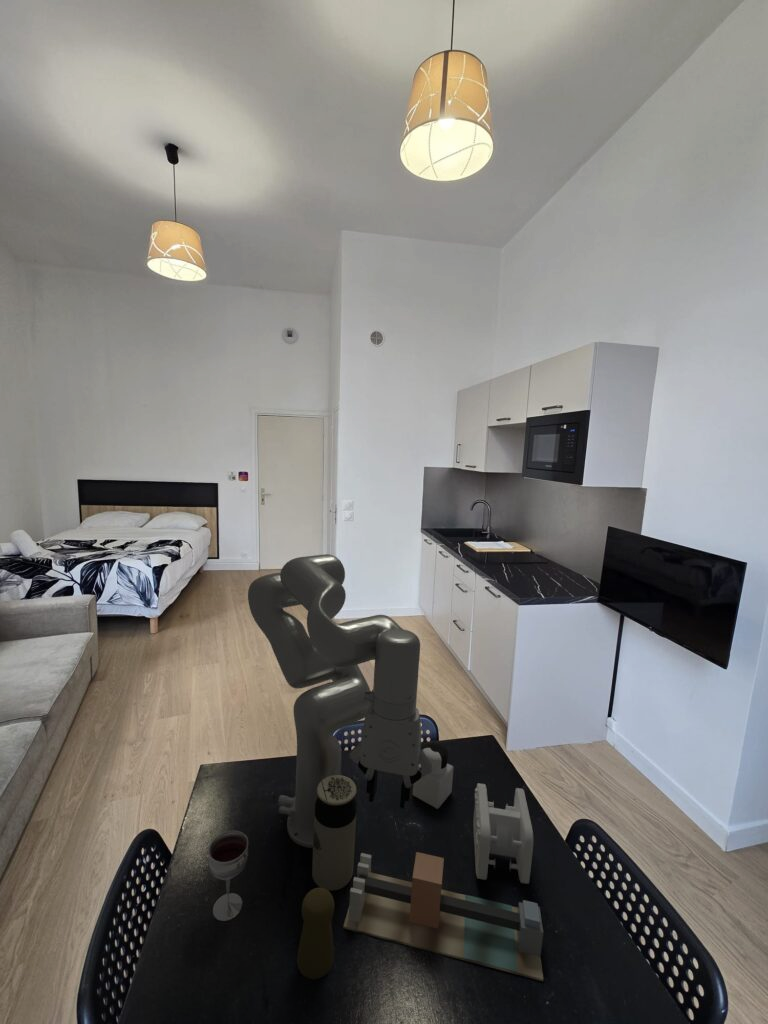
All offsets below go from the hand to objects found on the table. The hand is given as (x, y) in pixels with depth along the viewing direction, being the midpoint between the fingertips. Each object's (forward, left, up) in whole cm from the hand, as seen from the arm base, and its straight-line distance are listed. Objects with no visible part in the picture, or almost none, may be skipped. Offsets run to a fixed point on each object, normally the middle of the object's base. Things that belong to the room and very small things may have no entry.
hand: (387, 798), depth 79 cm
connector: (+26, 0, -21) cm, 33 cm away
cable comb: (-4, 0, -21) cm, 22 cm away
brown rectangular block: (+8, 0, -20) cm, 22 cm away
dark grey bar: (+10, 0, -19) cm, 21 cm away
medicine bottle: (+7, +30, -22) cm, 38 cm away
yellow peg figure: (-8, -11, -22) cm, 26 cm away
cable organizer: (+22, +16, -22) cm, 34 cm away
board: (+11, 0, -21) cm, 24 cm away
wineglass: (-26, -7, -22) cm, 35 cm away
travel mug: (-10, +4, -22) cm, 24 cm away
